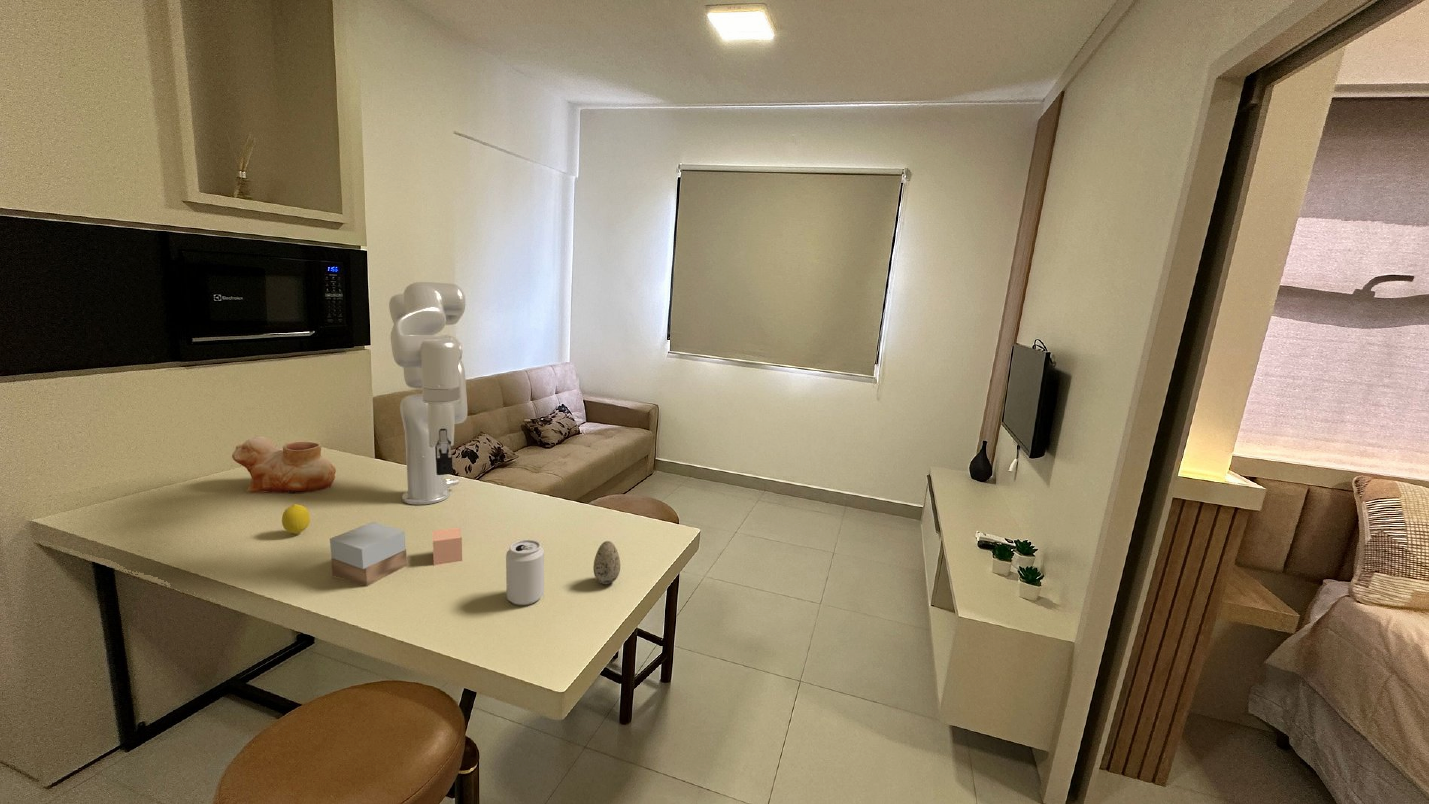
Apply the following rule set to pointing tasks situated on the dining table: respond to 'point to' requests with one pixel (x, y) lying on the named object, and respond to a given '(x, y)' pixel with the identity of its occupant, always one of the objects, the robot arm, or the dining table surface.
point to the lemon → (295, 519)
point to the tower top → (367, 545)
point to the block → (447, 546)
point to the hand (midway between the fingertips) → (444, 467)
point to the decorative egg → (606, 563)
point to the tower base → (369, 569)
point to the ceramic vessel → (284, 466)
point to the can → (525, 572)
